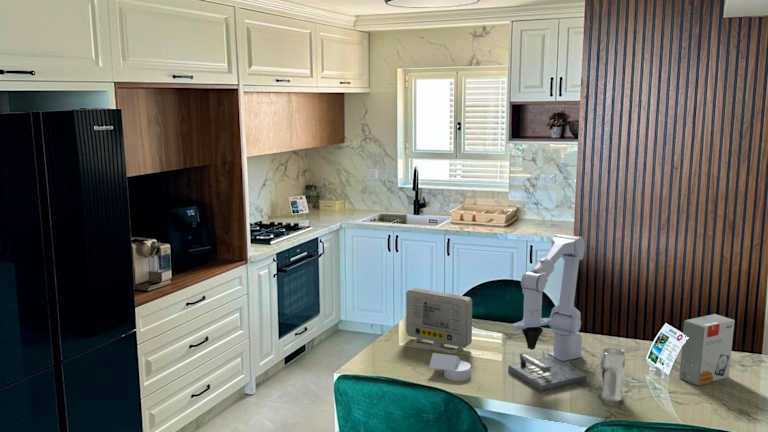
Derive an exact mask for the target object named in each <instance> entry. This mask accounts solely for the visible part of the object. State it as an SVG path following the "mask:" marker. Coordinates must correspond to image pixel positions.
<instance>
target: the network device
mask: <svg viewBox="0 0 768 432" xmlns="http://www.w3.org/2000/svg"><path fill="white" fill-rule="evenodd" d="M405 295H406V296H405V298H406V299H405V302H406V303H405V306H406V308H405V312H406V313H405V314H406V315H405V318H406V321H405V322H406V323H405V325H406V326H405V328H406V329H405V331H406V335H407V336H409V337H411V338H415V339H414V340H413V341H412V344H413V345H414V346H418V347H422V348H427V349H431V350H434V351H440V352H445V353H449V354H455V352H456V353H458V351H459V352H460V351H462V350H463V349H464V348H467V347H468V346H470V345H471V344H472V342H473V341H472V340H473V339H472V338H473V337H472V336H473V333H472V332H473V300H472V298H471V297H470V296H463V295H460V294H452V293H448V292H447V293H446V292H441V291H434V290H429V289H424V288H416V287H413V288H411V289H408V290H407V291H406V292H405ZM422 340H425V341H430V342H433V343H432V344H425V343H419V342H420V341H422ZM443 345H449V346H454V347H457V348H455V349H453V350H452V349H447V348H441V347H442V346H443ZM462 348H463V349H462ZM461 349H462V350H461Z"/></svg>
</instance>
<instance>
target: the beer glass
mask: <svg viewBox="0 0 768 432" xmlns="http://www.w3.org/2000/svg"><path fill="white" fill-rule="evenodd" d="M601 353H602V354H601V361H600V369H601V370H600V371H601V378H602V390H601V394H600V398H601V399H602V400H604V401H606V402H610V403H618V402H620V401H622V399H623V396H622V395H623V394H622V385H623V384H622V383H623V380H624V376H625V371H626V352H625V350H623V349H621V348H618V347H605V348H603V349H602V352H601Z"/></svg>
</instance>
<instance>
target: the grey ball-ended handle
mask: <svg viewBox="0 0 768 432" xmlns="http://www.w3.org/2000/svg"><path fill="white" fill-rule="evenodd" d="M519 359H520V360H521V359H522V360H524V361H526V362H528V363H530V364H531V365H533V366H535V367H537V368H538V369H540V370H541V371H542V372H544V373H547V372H550V368H551V366H549V365H544V364H542V363H541V362H539V361H537V360H535V359H536V358H534V357H532V356H530V355H528V354H527V353H526V352H521V353H519Z"/></svg>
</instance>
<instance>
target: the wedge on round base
mask: <svg viewBox="0 0 768 432" xmlns="http://www.w3.org/2000/svg"><path fill="white" fill-rule="evenodd" d="M428 367H429V368H432V369H441V370H443V376H444V378H446V379H448V380H451V381H458V382H459V381H460V382H461V381H467V380H469V379H470V378H471V376H472V364H470V362H468V361H465V360H461V359H460V357H459V356H458V355H453V354H446V353H438V352H437V353H436V352H432V355H431V359H430V362H429V366H428ZM468 378H469V379H468Z"/></svg>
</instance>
